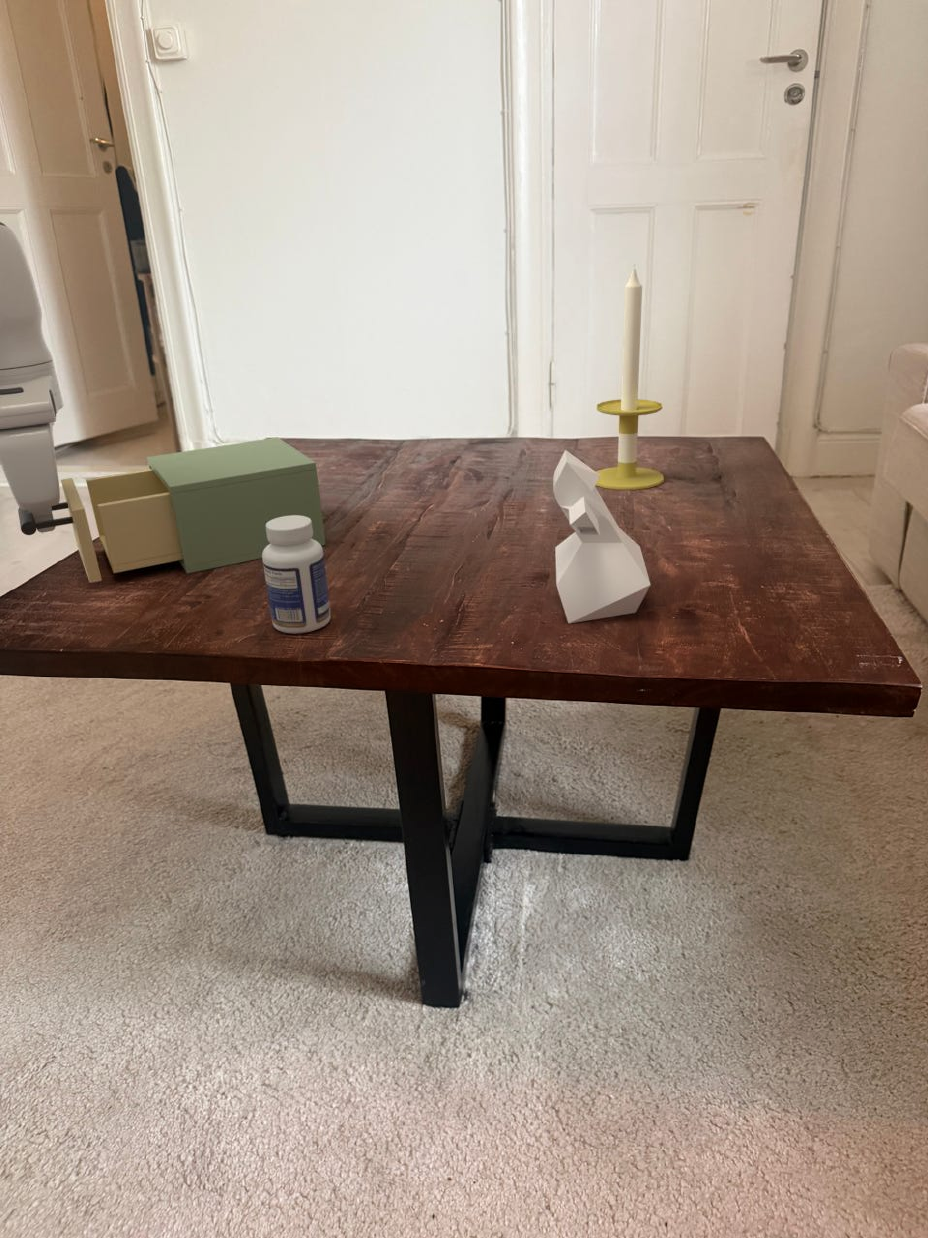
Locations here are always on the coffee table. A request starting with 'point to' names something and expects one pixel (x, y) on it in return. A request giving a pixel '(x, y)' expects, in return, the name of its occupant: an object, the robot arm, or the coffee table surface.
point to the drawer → (119, 521)
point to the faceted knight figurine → (594, 551)
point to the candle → (629, 403)
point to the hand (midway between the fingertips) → (46, 528)
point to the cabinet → (236, 498)
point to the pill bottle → (295, 576)
